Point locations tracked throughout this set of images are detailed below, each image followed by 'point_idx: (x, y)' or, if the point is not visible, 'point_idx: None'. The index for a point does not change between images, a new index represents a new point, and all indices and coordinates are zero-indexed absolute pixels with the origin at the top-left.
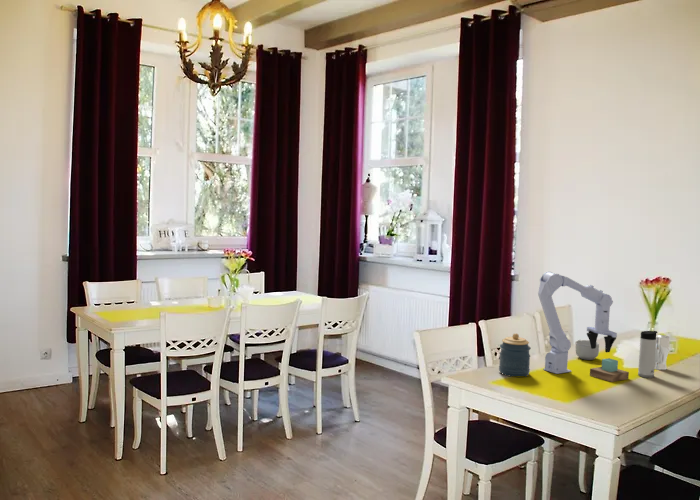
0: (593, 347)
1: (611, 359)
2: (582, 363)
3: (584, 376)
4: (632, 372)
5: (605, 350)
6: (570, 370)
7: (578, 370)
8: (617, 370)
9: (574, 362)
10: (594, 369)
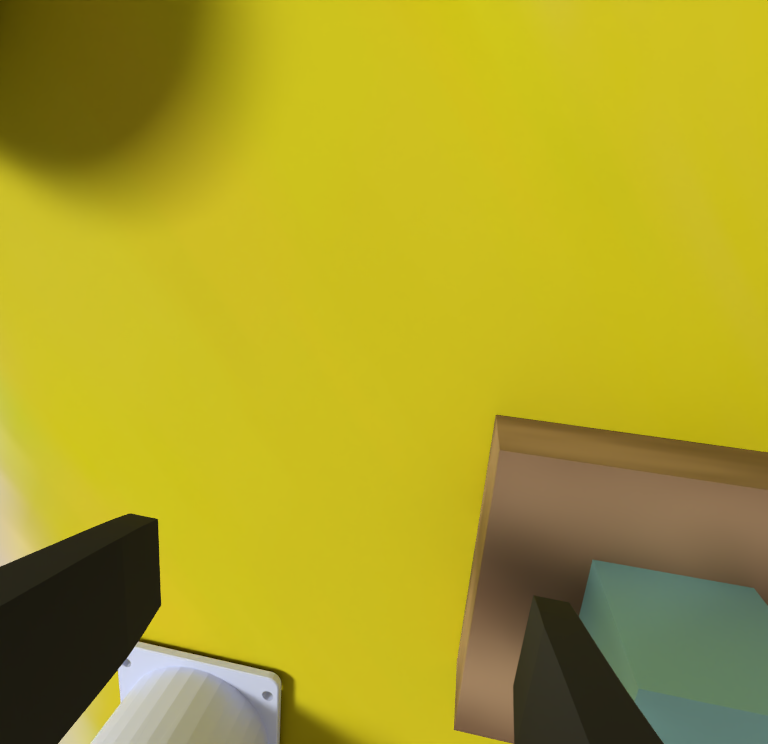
0: (142, 595)
1: (721, 738)
2: (79, 262)
3: (448, 722)
4: (731, 50)
5: (523, 740)
6: (269, 687)
7: (274, 574)
8: (742, 564)
9: (18, 306)
10: (507, 727)
